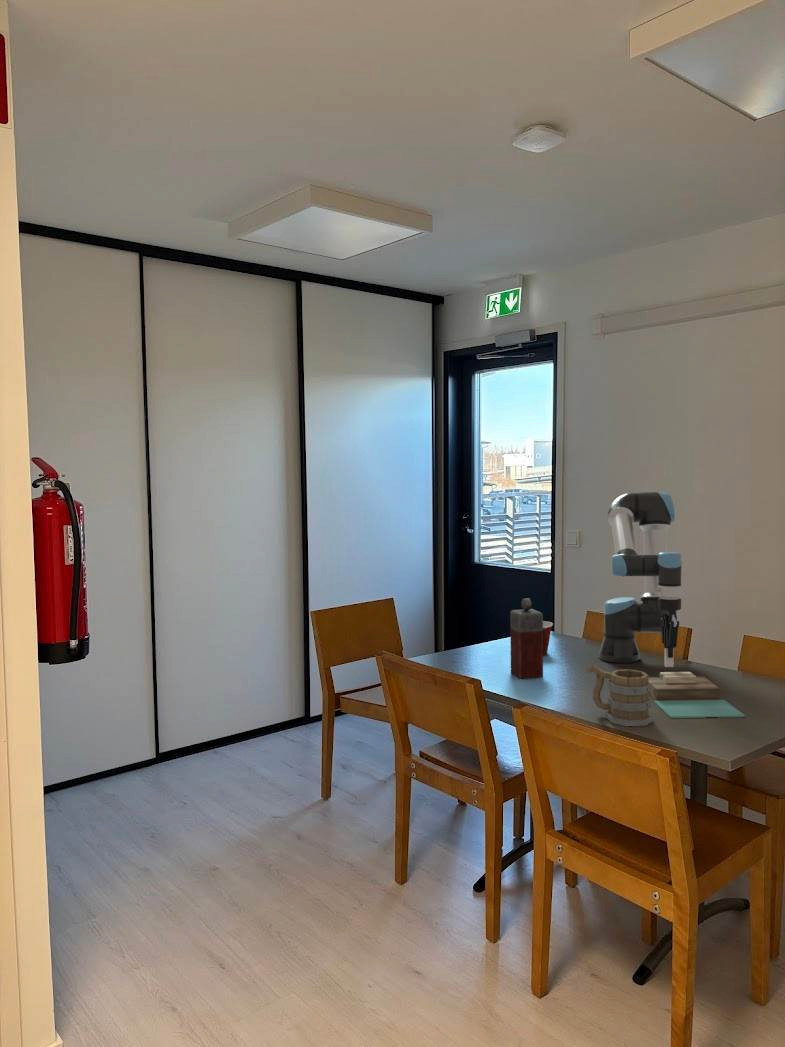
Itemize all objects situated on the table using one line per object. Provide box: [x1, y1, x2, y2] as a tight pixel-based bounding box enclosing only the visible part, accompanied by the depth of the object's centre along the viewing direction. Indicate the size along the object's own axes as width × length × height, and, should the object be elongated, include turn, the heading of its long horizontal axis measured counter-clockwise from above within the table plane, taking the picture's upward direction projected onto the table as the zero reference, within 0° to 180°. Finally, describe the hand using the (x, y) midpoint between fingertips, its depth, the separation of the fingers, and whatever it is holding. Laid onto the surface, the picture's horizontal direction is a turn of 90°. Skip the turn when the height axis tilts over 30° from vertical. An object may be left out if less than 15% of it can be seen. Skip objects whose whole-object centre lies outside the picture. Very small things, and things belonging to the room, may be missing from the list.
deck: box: [648, 676, 721, 701], centre depth 267 cm, size 14×20×4 cm
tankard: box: [585, 664, 654, 728], centre depth 245 cm, size 20×13×15 cm, turn 48°
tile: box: [659, 671, 697, 683], centre depth 270 cm, size 6×10×2 cm, turn 89°
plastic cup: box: [543, 620, 554, 652], centre depth 327 cm, size 11×11×12 cm
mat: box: [653, 699, 746, 719], centre depth 252 cm, size 16×22×1 cm
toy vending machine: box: [509, 597, 548, 680], centre depth 294 cm, size 9×11×28 cm
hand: (669, 666), depth 279 cm, fingers closed
